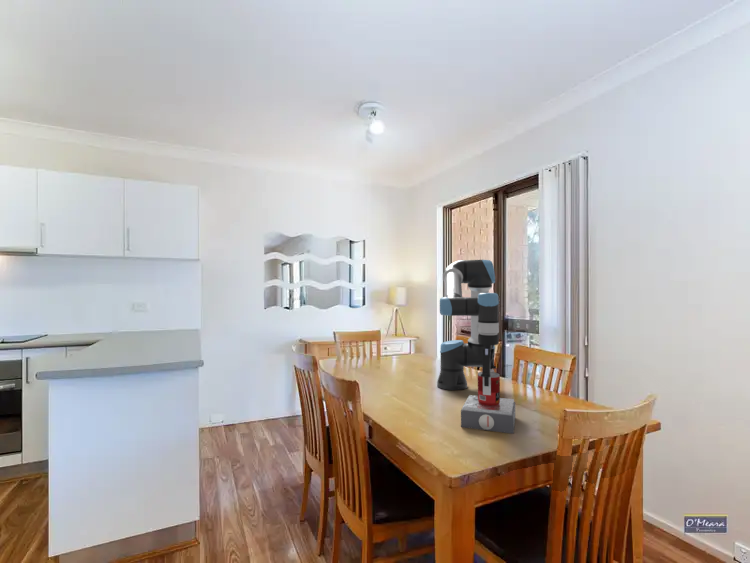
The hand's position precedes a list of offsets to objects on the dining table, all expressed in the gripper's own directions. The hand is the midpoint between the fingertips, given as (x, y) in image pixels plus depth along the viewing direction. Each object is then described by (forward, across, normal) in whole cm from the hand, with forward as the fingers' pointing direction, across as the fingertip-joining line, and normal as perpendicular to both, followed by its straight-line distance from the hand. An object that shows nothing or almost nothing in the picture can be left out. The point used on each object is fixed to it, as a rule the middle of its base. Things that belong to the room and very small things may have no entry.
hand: (488, 390), depth 148 cm
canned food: (+5, 0, 0) cm, 5 cm away
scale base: (+12, 0, 0) cm, 12 cm away
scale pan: (+6, 0, 0) cm, 6 cm away
